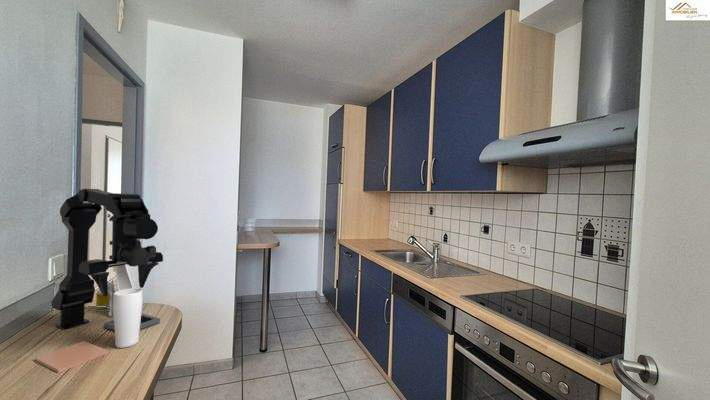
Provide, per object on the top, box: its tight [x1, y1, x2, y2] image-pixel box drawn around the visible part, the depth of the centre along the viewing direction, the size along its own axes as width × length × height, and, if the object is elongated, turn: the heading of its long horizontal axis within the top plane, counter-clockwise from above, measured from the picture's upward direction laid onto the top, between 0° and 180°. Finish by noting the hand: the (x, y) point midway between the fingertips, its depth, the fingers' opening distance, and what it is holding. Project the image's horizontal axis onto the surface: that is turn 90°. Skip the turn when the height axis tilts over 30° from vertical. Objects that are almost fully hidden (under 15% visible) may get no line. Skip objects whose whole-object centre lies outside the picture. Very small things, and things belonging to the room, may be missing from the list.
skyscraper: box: [106, 239, 143, 319], centre depth 105 cm, size 8×8×28 cm
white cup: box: [112, 288, 144, 349], centre depth 84 cm, size 7×7×15 cm
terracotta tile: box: [34, 340, 109, 374], centre depth 77 cm, size 12×10×1 cm
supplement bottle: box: [95, 281, 116, 312], centre depth 109 cm, size 5×5×10 cm
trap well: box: [103, 313, 161, 333], centre depth 96 cm, size 12×10×2 cm
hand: (124, 291), depth 84 cm, fingers open, 9 cm apart
